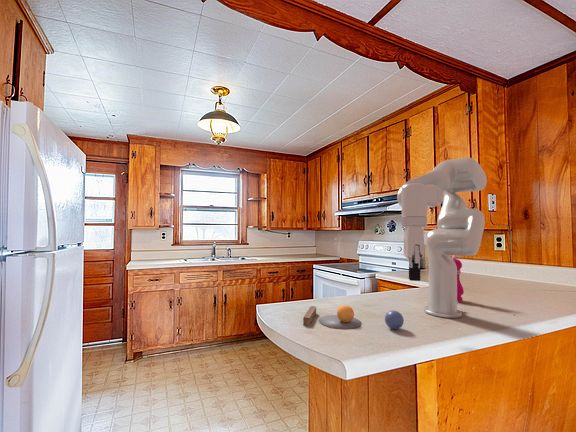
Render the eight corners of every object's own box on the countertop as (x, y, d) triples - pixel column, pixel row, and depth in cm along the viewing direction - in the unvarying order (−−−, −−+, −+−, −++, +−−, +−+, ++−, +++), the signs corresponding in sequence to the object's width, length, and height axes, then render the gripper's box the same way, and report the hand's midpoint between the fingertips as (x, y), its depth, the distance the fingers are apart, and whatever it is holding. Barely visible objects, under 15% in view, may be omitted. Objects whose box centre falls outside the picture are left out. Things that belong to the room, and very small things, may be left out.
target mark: (336, 313, 109) (336, 312, 109) (369, 323, 99) (369, 322, 99) (309, 320, 100) (309, 319, 100) (342, 332, 89) (342, 331, 89)
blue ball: (394, 305, 96) (390, 319, 98) (383, 309, 93) (379, 323, 95) (409, 315, 92) (404, 330, 94) (397, 319, 89) (393, 335, 91)
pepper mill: (466, 303, 127) (466, 256, 128) (448, 302, 129) (448, 255, 130) (460, 299, 135) (460, 254, 135) (442, 298, 136) (442, 254, 137)
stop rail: (316, 313, 108) (316, 306, 108) (309, 325, 95) (309, 317, 95) (310, 312, 109) (310, 306, 109) (303, 325, 95) (303, 317, 95)
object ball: (344, 302, 103) (351, 317, 102) (331, 309, 101) (338, 325, 100) (352, 302, 98) (359, 318, 97) (338, 309, 96) (346, 326, 95)
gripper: (398, 222, 103) (399, 275, 103) (404, 222, 88) (405, 284, 88) (422, 222, 101) (422, 276, 101) (432, 222, 87) (432, 285, 86)
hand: (414, 280), depth 95 cm, fingers closed
